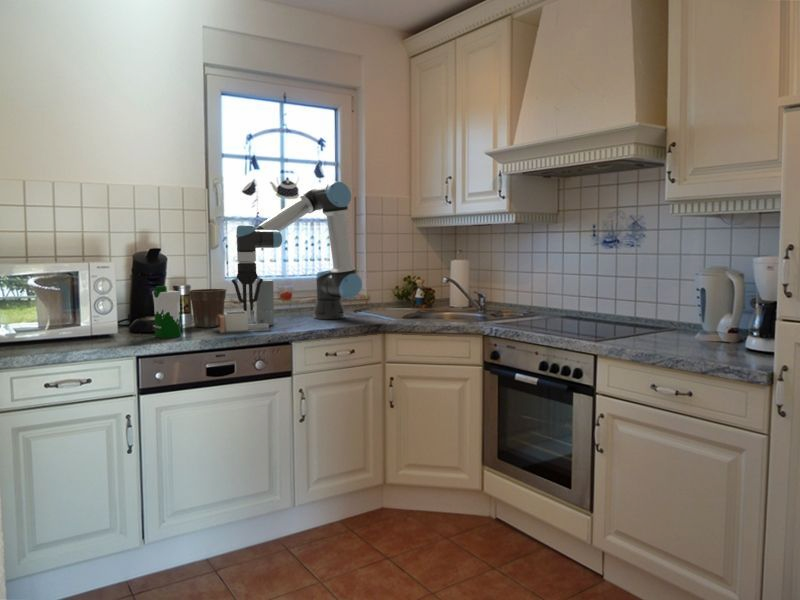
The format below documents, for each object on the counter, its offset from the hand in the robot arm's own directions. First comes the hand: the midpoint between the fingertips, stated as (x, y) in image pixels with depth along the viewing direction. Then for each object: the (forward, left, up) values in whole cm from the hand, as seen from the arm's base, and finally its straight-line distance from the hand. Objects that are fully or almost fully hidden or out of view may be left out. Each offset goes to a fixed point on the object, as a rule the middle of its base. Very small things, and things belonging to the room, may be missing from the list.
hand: (248, 318), depth 257 cm
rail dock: (+2, 0, -5) cm, 5 cm away
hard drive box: (-9, -19, -5) cm, 22 cm away
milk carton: (+32, +7, -5) cm, 33 cm away
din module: (+5, 0, -4) cm, 7 cm away
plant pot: (+15, -20, -5) cm, 25 cm away
